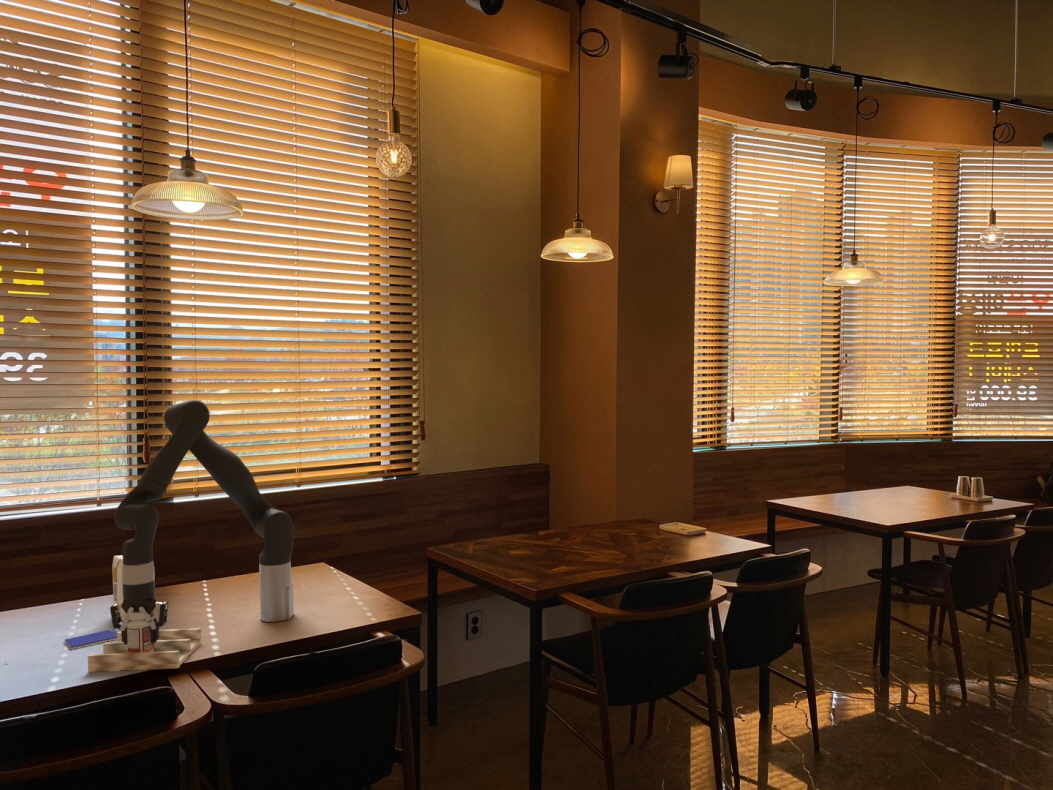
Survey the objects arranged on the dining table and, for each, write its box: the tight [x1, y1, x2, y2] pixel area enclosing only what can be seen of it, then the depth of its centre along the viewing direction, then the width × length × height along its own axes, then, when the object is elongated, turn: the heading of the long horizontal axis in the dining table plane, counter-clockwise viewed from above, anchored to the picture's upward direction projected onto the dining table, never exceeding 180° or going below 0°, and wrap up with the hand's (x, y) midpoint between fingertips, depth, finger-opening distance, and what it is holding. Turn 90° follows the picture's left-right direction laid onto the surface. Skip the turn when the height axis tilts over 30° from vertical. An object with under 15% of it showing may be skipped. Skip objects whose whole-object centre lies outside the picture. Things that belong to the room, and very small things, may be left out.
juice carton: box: [111, 554, 126, 620], centre depth 240 cm, size 8×9×19 cm
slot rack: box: [87, 627, 202, 673], centre depth 206 cm, size 22×18×4 cm
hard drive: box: [64, 628, 118, 650], centre depth 219 cm, size 2×8×12 cm
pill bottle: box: [127, 612, 154, 653], centre depth 201 cm, size 6×6×11 cm
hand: (140, 642), depth 201 cm, fingers closed on pill bottle, 6 cm apart
